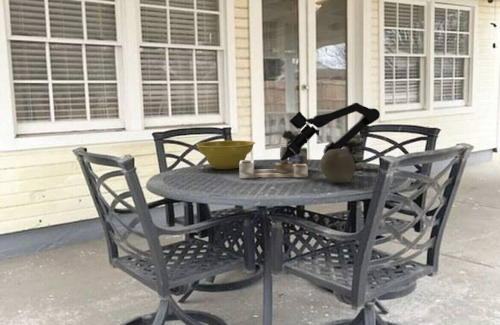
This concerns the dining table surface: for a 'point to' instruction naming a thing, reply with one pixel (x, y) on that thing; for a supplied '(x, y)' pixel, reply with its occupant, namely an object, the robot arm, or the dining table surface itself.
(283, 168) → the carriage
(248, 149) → the planter bowl
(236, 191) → the dining table surface
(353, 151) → the apothecary jar
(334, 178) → the cantaloupe
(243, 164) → the rail track
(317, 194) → the dining table surface
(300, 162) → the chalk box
